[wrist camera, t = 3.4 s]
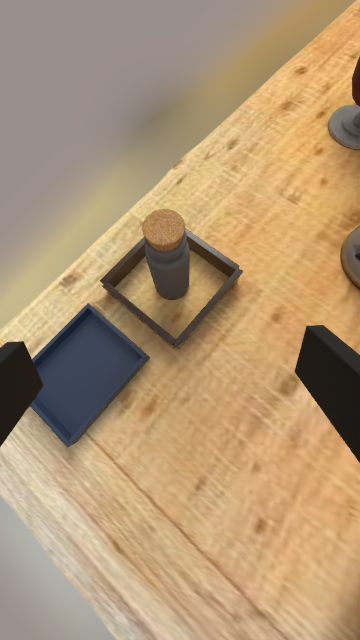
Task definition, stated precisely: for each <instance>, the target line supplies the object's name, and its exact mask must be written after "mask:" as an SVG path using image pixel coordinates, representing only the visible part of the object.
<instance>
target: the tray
mask: <svg viewBox="0 0 360 640" xmlns="http://www.w3.org/2000/svg"><path fill="white" fill-rule="evenodd" d="M149 358H150V357H149V356H148V355H146V354H145V353H144V352H143V351H142V350H141V349H140V348H139V347H137V346H136V345H135V344H134V343H133V342H132V341H131V340H130V339H128V338H127V337H126V336H125V335H124V334H123V333H122V332H121V331H119V330H118V329H117V328H116V327H115V326H114V325H113V324H112V323H110V322H109V321H108V320H107V319H106V318H105V317H104V316H102V315H101V314H100V313H99V312H98V311H97V310H96V309H95V308H93V307H92V306H91V305H90V304H87V305H86V306H85V307H84V308H83V309H82V310H81V311H80V312H79V313H78V314H77V315H76V316H75V317H74V318H73V319H72V320H71V321H70V322H69V323H68V324H67V325H66V326H65V327H64V328H63V329H62V330H61V331H60V332H59V333H58V334H57V335H56V336H55V337H54V338H53V339H52V340H51V341H50V342H49V343H48V344H47V345H46V346H45V347H44V348H43V349H42V350H41V351H40V352H39V353H38V354H37V355H36V356H35V357H34V358H33V359H32V361H33V363H34V365H35V367H36V370H37V372H38V374H39V376H40V378H41V380H42V383H43V385H44V386H43V387H42V389H41V390H40V391H39V393H38V394H37V396H36V397H35V399H34V400H33V401H32V403H31V404H30V406H31V407H32V408H33V410H34V411H35V412H36V413H37V414H38V415H39V416H40V417H41V418H42V420H43V421H44V422H45V423H46V424H47V425H48V426H49V427H50V428H51V430H52V431H53V432H54V433H55V434H56V435H57V436H58V437H59V438H60V440H61V441H62V442H63V443H64V444H65V445H66V446H67V447H69V446H71V445H73V444H75V443H76V442H77V441H78V440H79V439H80V437H81V436H82V435H83V434H84V433H85V432H86V431H87V429H88V428H89V427H90V426H91V425H92V424H93V423H94V421H95V420H96V419H97V418H98V417H99V416H100V414H101V413H102V412H103V411H104V410H105V409H106V408H107V406H108V405H109V404H110V403H111V402H112V401H113V400H114V398H115V397H116V396H117V395H118V394H119V393H120V392H121V390H122V389H123V388H124V387H125V386H126V385H127V384H128V382H129V381H130V380H131V379H132V378H133V377H134V376H135V374H136V373H137V372H138V371H139V370H140V369H141V368H142V366H143V365H144V364H145V363H146V362H147V361H148V360H149Z"/></svg>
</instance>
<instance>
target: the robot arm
mask: <svg viewBox="0 0 360 640" xmlns="http://www.w3.org/2000/svg"><path fill="white" fill-rule="evenodd" d="M341 259H342V264H343V267H344V270H345V272H346V274H347V275H348V277H349V278H350V279H351V281H352V282H353V283H354V284H355V285H356V286H357V287H358V288H359V289H360V226H359V227H357V228H356V229H355V230H354V231H353V232H352V233H351V234H350V235H349V236H348V237H347V238H346V240H345V241H344V243H343V246H342V250H341ZM295 373H296V374H297V376H298V377H299V378H300V380H301V381H302V383H303V384H304V385H305V387H306V388H307V390H308V391H309V392H310V394H311V395H312V397H313V398H314V399H315V401H316V402H317V404H318V405H319V406H320V408H321V409H322V411H323V412H324V413H325V415H326V416H327V418H328V419H329V420H330V422H331V423H332V425H333V426H334V427H335V429H336V430H337V432H338V433H339V434H340V436H341V437H342V439H343V440H344V441H345V443H346V444H347V446H348V447H349V448H350V450H351V451H352V453H353V454H354V455H355V457H356V458H357V460H358V461H359V462H360V355H359V354H358V353H356V352H355V351H354V350H353V349H352V348H350V347H349V346H348V345H347V344H345V343H344V342H343V341H342V340H341V339H339V338H338V337H337V336H336V335H335V334H333V333H332V332H331V331H330V330H328V329H327V328H326V327H325V326H324V325H316V326H306V330H305V334H304V338H303V342H302V346H301V350H300V353H299V357H298V361H297V365H296V369H295ZM43 386H44V385H43V383H42V380H41V378H40V376H39V374H38V372H37V370H36V367H35V365H34V363H33V361H32V359H31V357H30V354H29V352H28V350H27V348H26V346H25V344H24V341H22V342H7V343H6V344H4V345H3V346H2V347H1V348H0V447H1V445H2V444H3V442H4V441H5V440H6V438H7V437H8V435H9V434H10V432H11V431H12V430H13V428H14V427H15V425H16V424H17V423H18V421H19V420H20V418H21V417H22V416H23V414H24V413H25V411H26V410H27V408H28V407H29V406H30V404H31V403H32V401H33V400H34V399H35V397H36V396H37V394H38V393H39V391H40V390H41V389H42V387H43Z"/></svg>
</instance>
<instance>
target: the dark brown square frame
mask: <svg viewBox="0 0 360 640" xmlns="http://www.w3.org/2000/svg"><path fill="white" fill-rule="evenodd" d="M185 231H186V234H187V242H188V245H189V248H190V249H191V250H193V251H194V252H196V253H197V254H198V255H200V256H201V257H203V258H204V259H205V260H207V261H208V262H210V263H211V264H212V265H214V266H215V267H216V268H218V269H219V270H221V271H222V272H223V273H225V274H226V275H228V276H229V277H230V278H229V279H228V280H227V281H226V282H225V284H224V285H223V286H222V287H221V288H220V289H219V291H218V292H217V293H216V294H215V295H214V296H213V298H212V299H211V300H210V301H209V302H208V303H207V305H206V306H205V307H204V308H203V309H202V310H201V312H200V313H199V314H198V315H197V316H196V317H195V318H194V320H193V321H192V322H191V323H190V324H189V325H188V327H187V328H186V329H185V330H184V331H183V332H182V334H181V335H180V336H179V337H178V338H177V339H176V340H175V339H174V338H173V337H172V336H171V335H169V334H168V333H167V332H166V331H165V330H163V329H162V328H161V327H160V326H159V325H157V324H156V323H155V322H154V321H153V320H152V319H150V318H149V317H148V316H147V315H146V314H144V313H143V312H142V311H141V310H140V309H138V308H137V307H136V306H135V305H134V304H132V303H131V302H130V301H129V300H128V299H126V298H125V297H124V296H123V295H122V294H121V293H119V292H118V291H117V290H116V289H115V288H114V287H115V286H116V285H117V284H118V283H119V282H120V281H121V280H122V279H123V278H124V277H125V276H126V275H127V274H128V273H129V272H130V271H131V270H132V269H133V268H134V267H135V266H136V265H137V264H138V263H139V262H140V261H141V260H142V259H143V258H144V257H145V256H146V255H145V248H146V247H145V243H144V238H143V239H142V240H141V241H140V242H139V243H138V244H137V245H136V246H135V247H133V248H132V249H131V250H130V251H129V252H128V253H127V254H126V255H125V256H124V257H123V258H122V259H121V260H120V261H119V262H118V263H117V264H116V265H115V266H114V267H113V268H112V269H111V270H110V271H109V272H108V273H107V274H106V275H105V276H104V277H103V278H102V279H101V280H100V282H101V283H102V284H104V285H103V286H102V287H103V288H105V289H106V290H107V291H108V292H109V294H111V295H112V296H113V297H114V298H115V299H117V300H118V301H119V302H120V303H121V304H122V305H124V306H125V307H126V308H127V309H128V310H129V311H131V312H132V313H133V314H134V315H135V316H137V317H138V318H139V319H140V320H141V321H142V322H144V323H145V324H146V325H147V326H148V327H149V328H151V329H152V330H153V331H154V332H155V333H157V334H158V335H159V336H160V337H161V338H162V339H164V340H165V341H166V342H167V343H168V344H169V345H171V346H172V347H173V348H174V347H175V346H176V347H177V348H178V349H180V348H181V347H182V345H183V344H184V343H185V342H186V341H187V340H188V338H189V337H190V336H191V335H192V334H193V333H194V331H195V330H196V329H197V328H198V327H199V325H200V324H201V323H202V322H203V321H204V320H205V318H206V317H207V316H208V315H209V314H210V312H211V311H212V310H213V309H214V308H215V307H216V305H217V304H218V303H219V302H220V301H221V300H222V298H223V297H224V296H225V295H226V294H227V292H228V291H229V290H230V289H231V288H232V287H233V285H234V284H235V283H236V282H237V281H238V279H239V277H240V275H241V274H242V272H243V271H242V270H240V269H239V265H237V264H236V263H234V262H233V261H231V260H230V259H229V258H227V257H226V256H224V255H223V254H221V253H220V252H219V251H217V250H216V249H214V248H213V247H211V246H210V245H209V244H207V243H206V242H204V241H203V240H201V239H200V238H199V237H197V236H196V235H194V234H193V233H191V232H190V231H188V230H187V229H186V228H185Z"/></svg>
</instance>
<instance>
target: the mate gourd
mask: <svg viewBox="0 0 360 640" xmlns="http://www.w3.org/2000/svg"><path fill="white" fill-rule="evenodd" d="M352 96H353V99H354V101H355V103H356V104H357V105H348V106H344V107H341V108H339V109H338V110H336V111H335V112H334V113H333V114H332V116H331V118H330V120H329V123H328V129H329V132H330V134H331V136H332V137H333V138H334V139H335V140H336V141H337V142H338V143H340V144H342V145H343V146H346V147H348V148H352V149H357V150H360V57H359V59H358V62H357V65H356V68H355V70H354V73H353V77H352Z"/></svg>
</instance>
